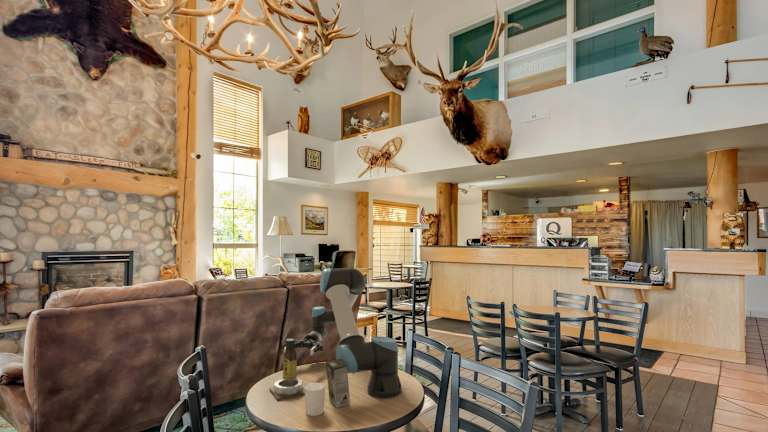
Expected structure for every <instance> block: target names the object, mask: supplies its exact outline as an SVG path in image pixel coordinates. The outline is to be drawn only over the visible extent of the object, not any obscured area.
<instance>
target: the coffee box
mask: <svg viewBox="0 0 768 432" xmlns="http://www.w3.org/2000/svg"><path fill="white" fill-rule="evenodd" d="M325 368H326V377H327V386H328V387H327V388H328V397H329V398H328V399H329V401H330V402H331V404H333V406H334V407H335V408H336V409H338V408H341V407H345V406H349V405H350V404H351V398H350V385H349V373H348V372H347V365H346V364H345V363H344V362H343V361H341V360H340V359H333V360H329V361H326V362H325Z"/></svg>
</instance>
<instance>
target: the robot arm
mask: <svg viewBox="0 0 768 432" xmlns="http://www.w3.org/2000/svg"><path fill="white" fill-rule="evenodd" d="M365 288H366V279H365V275H364V274H363V273H362V272H361V270H359V269H357V268H355V267H340V268H339V267H337V268H336V267H334V268H332V267H330V268H324V269H322V271H321V274H320V279H319V290H320V293H322V294H325V297H326V298H327V299H328V300H330V304H331V307H332V309H326V307H325V306H313V308H312V309H311V332H310V333H308V334H307V335H305V336H304V338H303V339H296V340H295V339H294V340H295V343H294V349H297V348H299V349H300V348H301V349H302V348H306V349H309V350H310V353H309V354H310V355H309V356H313V355H314V354H315V353H317V352H319V351H320V352H323V350H324V347H323V346H324V345H323V344H322V342H323V341H324V340H325V339H326V337H327V335H328V331H327V328H326V325H327V324H336V329H337V331H338V336H339V340H340V341H339V342H338V343H337V344H338V346H337V347H336V350H335V356H336V359H335V360H337V359H340V360H341V361H343V362H344V363H345V364H346V365H347V372H348V374H356V373H361V372H368V371H371V373H370V377H369V380H368V383H367V386H366V387H367V389H366V390H367V393H368V395H370V396H372V397H374V398H377V399H378V398H379V399H389V398H395V396H396V397H398V396H400V395H401V394H402V389H403V387H402V383H401V380H400V376H399V372H398V370H399V367H398V366H399V348H398V346H399V344H398V342H397V340H395V339H394V338H391V337H386V336H373V337H371V340H370V341H365V338H364V337H365V336H363V335H361V334H360V333H359V330H358V326H357V323H356V318H355V315H354V312H353V309H352V308H353V306H354V304H355V302H356V300H357V299H358V297H359V296H360V295H361V294H362V293H363V292H364V290H365ZM285 351H286V342H285V343H284V347H283V353H284V352H285ZM399 394H400V395H399Z"/></svg>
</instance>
